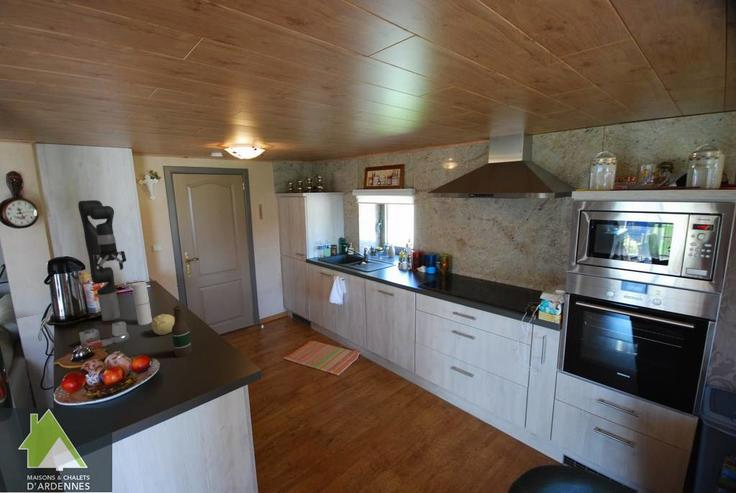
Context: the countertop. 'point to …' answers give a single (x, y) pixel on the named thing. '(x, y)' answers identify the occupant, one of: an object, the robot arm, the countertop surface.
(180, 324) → the beer bottle
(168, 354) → the countertop surface
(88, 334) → the socket
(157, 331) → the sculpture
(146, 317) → the cylindrical container
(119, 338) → the wine glass
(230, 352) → the countertop surface
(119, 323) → the socket
